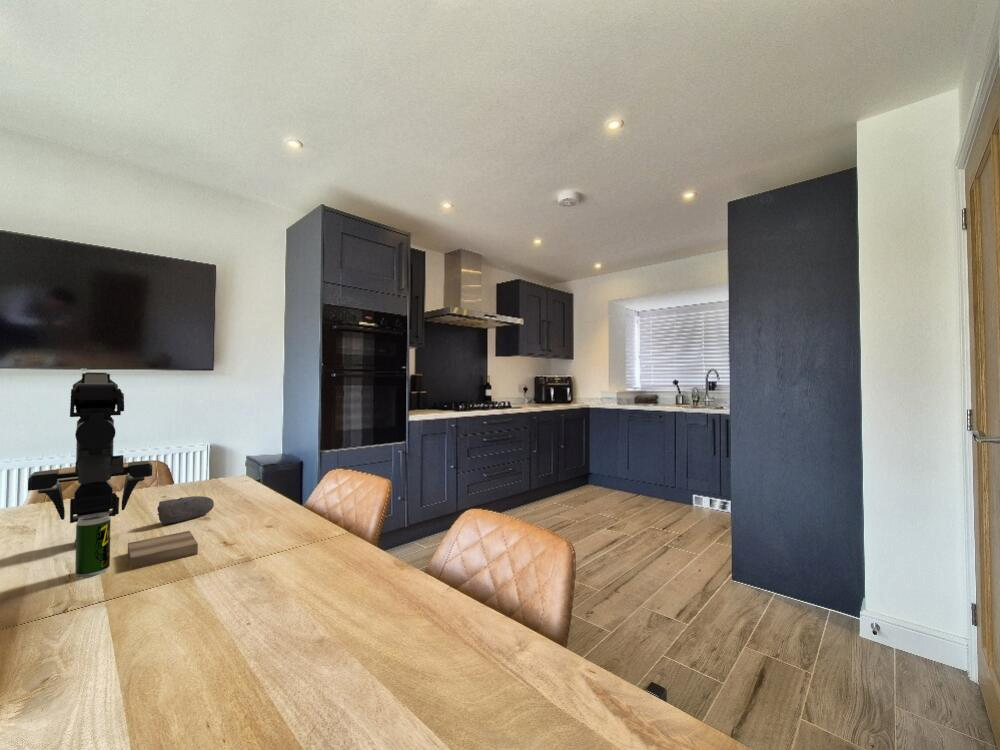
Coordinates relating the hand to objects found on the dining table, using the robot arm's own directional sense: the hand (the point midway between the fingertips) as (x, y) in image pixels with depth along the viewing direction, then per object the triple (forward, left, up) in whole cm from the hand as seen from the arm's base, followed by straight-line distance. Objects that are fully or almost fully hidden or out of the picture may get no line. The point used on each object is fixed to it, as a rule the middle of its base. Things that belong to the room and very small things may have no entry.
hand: (94, 514), depth 89 cm
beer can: (-2, 0, -13) cm, 13 cm away
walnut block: (-3, +12, -13) cm, 18 cm away
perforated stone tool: (-30, +20, -13) cm, 39 cm away
